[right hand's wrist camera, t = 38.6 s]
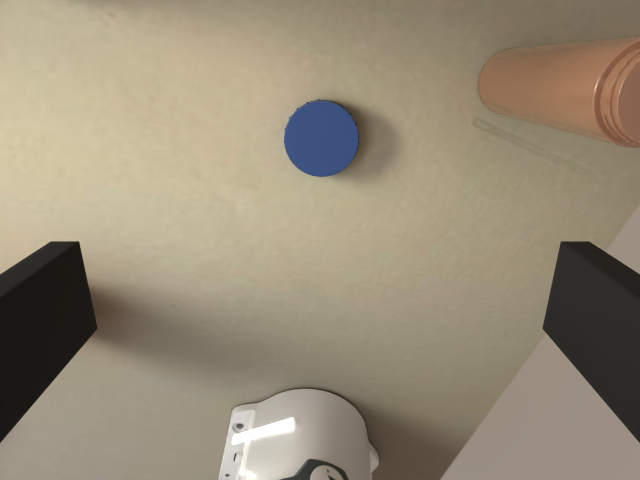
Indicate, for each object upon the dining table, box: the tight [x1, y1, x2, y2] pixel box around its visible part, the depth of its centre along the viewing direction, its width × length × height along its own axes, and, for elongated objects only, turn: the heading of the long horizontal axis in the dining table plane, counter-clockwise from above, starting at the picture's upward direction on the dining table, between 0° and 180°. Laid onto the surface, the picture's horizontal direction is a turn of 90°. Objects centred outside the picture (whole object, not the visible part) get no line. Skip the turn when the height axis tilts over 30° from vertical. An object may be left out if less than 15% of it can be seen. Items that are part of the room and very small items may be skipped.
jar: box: [478, 36, 640, 147], centre depth 30 cm, size 5×5×19 cm
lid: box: [284, 99, 359, 177], centre depth 40 cm, size 7×7×2 cm
